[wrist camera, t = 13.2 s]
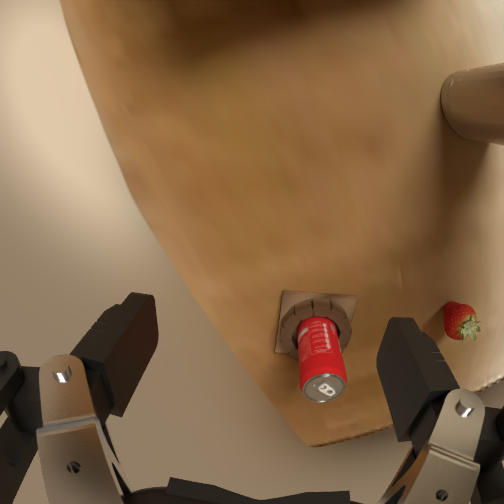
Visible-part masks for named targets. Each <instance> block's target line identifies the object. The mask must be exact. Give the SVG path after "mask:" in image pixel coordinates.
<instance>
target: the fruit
mask: <svg viewBox="0 0 504 504" xmlns="http://www.w3.org/2000/svg"><path fill="white" fill-rule="evenodd" d="M478 322H480V321H478ZM478 322H476V313H475V311H474V310H473V308H472V307H470V306H469V305H466V304H459V303H456V302H449V303H447V304H446V305H445V307H444V326H445V332H446V334H447V335H448V336H449V337H450V338H452V339H456V340H461V339H462V341H463V339H465V337H467V336H468V335H469V336H470V337H471V338H472V339H474V340H475V341H476V336H475V334H474V333H473V332H472V330H473V331H478V332H480V331H481V330H480V327H478V326H475V324H476V323H478Z"/></svg>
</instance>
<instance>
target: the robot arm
mask: <svg viewBox="0 0 504 504" xmlns="http://www.w3.org/2000/svg"><path fill="white" fill-rule="evenodd" d="M441 104H442V109H443V112H444V115H445V118H446V120H447V122H448V123H449V125H450V126H451V127H452V129H453V130H454V131H455V132H456V133H457V134H458V135H460V136H462V137H463V138H466V139H470V140H476V141H482V142H487V143H493V144H499V145H504V63H500V64H495V65H489V66H484V67H479V68H474V69H469V70H464V71H460V72H456V73H453V74H451V75H450V76H449V77H448V78H447V79H446V81H445V82H444V85H443V87H442V92H441ZM157 344H158V324H157V316H156V307H155V299H154V297H153V295H148V294H141V293H134V292H132V293H130V294H129V295H128V297H127V298H126V299H125V300H124V302H123V303H122V304H121V305H119V304H116V305H114V306H113V307H111V308H109V309H107V310H106V311H104V313H103V314H102V315H101V316H100V317H99V319H98V320H97V322H95V323H94V325H93V326H92V327H91V329H89V331H88V332H87V333H86V335H85V336H84V337H83V338H82V339H81V341H80V342H79V343H78V344H77V346H76V347H75V348H74V350H73V351H72V352H71V353H70V354H69V355H67V354H65V355H58V356H54V357H52V358H50V359H48V360H47V361H46V362H45V363H43V365H42V366H41V367H26V366H25V367H24V366H21V365H20V362H19V360H18V358H17V356H16V355H15V354H14V353H12V352H9V351H1V352H0V415H1V414H2V412H3V411H5V413H6V414H7V416H8V417H7V419H6V420H5V422H4V424H3V425H2V427H1V428H0V504H12V503H13V501H14V498H15V496H16V494H17V491H18V489H19V487H20V485H21V483H22V481H23V479H24V477H25V474H26V472H27V470H28V468H29V466H30V464H31V462H32V460H33V458H34V456H35V454H36V452H37V450H38V451H39V457H40V463H41V468H42V474H43V479H44V483H45V487H46V492H47V497H48V500H49V504H362V503H358V502H354V501H350V494H349V491H337V492H305V493H300V494H296V495H290V496H285V497H279V498H273V499H267V500H257V499H252V498H250V497H246V496H243V495H240V494H237V493H234V492H231V491H228V490H226V489H223V488H220V487H217V486H215V485H209V484H203V483H198V482H192V481H187V480H182V479H177V478H173V477H170V479H169V483H168V486H167V487H152V488H146V489H141V490H137V491H133V489H132V486H131V484H130V482H129V481H128V478H127V477H126V474H125V472H124V470H123V468H122V465H121V462H120V460H119V457H118V455H117V452H116V449H115V446H114V444H113V441H112V438H111V435H110V432H109V429H108V426H107V424H106V420H107V418H108V416H109V414H112V415H115V416H119V417H122V416H123V414H124V412H125V410H126V408H127V406H128V403H129V401H130V399H131V397H132V395H133V393H134V391H135V389H136V387H137V385H138V383H139V381H140V379H141V377H142V375H143V373H144V371H145V369H146V367H147V365H148V363H149V361H150V359H151V357H152V355H153V354H154V352H155V350H156V347H157ZM377 371H378V374H379V377H380V380H381V383H382V386H383V390H384V393H385V396H386V400H387V403H388V406H389V410H390V413H391V417H392V420H393V424H394V427H395V431H396V435H397V439H398V442H402V441H411V442H412V445H413V446H412V447H411V449H410V450H409V451H408V454H407V455H406V457H405V459H404V461H403V463H402V464H401V466H400V468H399V470H398V472H397V474H396V475H395V477H394V479H393V480H392V482H391V484H390V485H389V487H388V489H387V490H386V492H385V493H384V494H383V496H382V497H381V498H380V500H379V501H378V502H377V503H376V504H469V502H471V504H504V468H503V465H502V461H503V460H504V406H503V408H502V409H498V408H490V407H484V404H483V402H482V400H481V399H480V398H479V397H478V396H477V395H476V394H475V393H473V392H471V391H469V390H465V389H460V387H459V385H458V383H457V381H456V379H455V378H454V376H453V374H452V372H451V370H450V368H449V366H448V365H447V363H446V361H444V357H443V356H442V354H441V353H440V350H439V349H438V347H437V345H436V343H435V342H434V340H432V339H431V338H430V337H429V336H428V335H427V334H426V333H424V332H421V331H420V329H419V327H418V326H417V324H416V322H415V321H414V319H413V318H401V317H392V318H391V319H390V320H389V322H388V325H387V328H386V331H385V334H384V337H383V340H382V343H381V345H380V348H379V351H378V354H377Z"/></svg>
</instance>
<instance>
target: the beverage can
mask: <svg viewBox="0 0 504 504" xmlns="http://www.w3.org/2000/svg"><path fill="white" fill-rule="evenodd" d="M298 349H299V369H300V387H301V390H302V391H303V394H304V395H305V397H306V398H308V399H309V400H311V401H315V402H327V401H331V400H334V399H336V398H338V397H339V396H340V395H341V394H342V393H343V392H344V390H345V387H346V382H347V376H346V372H345V367H344V362H343V358H342V353H341V348H340V344H339V340H338V335H337V331H336V327H335V324H334V322H333V321H332V320H331V319H329V318H328V317H319V316H313V317H310V318H307V319H305V320H302V321H301V323H300V325H299V327H298Z"/></svg>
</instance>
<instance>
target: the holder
mask: <svg viewBox="0 0 504 504" xmlns="http://www.w3.org/2000/svg"><path fill="white" fill-rule="evenodd" d="M356 302H357V298H356V296H352V295H338V294H324V293H312V292H299V291H288V290H283V294H282V302H281V310H280V318H279V325H278V333H277V340H276V347H275V352H277V353H288V355H289V356H291V357H293V358H295V359H297V360H299V349H298V327H299V325H300V323H301V321H302V320H305V319H307V318H310V317H313V316H319V317H328V318H329V319H331V320H332V321H333V322H334V324H335V327H336V331H337V335H338V340H339V344H340V348H341V353H343V350H344V349H345V348H346V347H347V344H348V343H349V340H350V336H351V333H352V331H351V330H352V329H351V326H350V325H351V322H352V318H353V314H354V310H355V306H356Z"/></svg>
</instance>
